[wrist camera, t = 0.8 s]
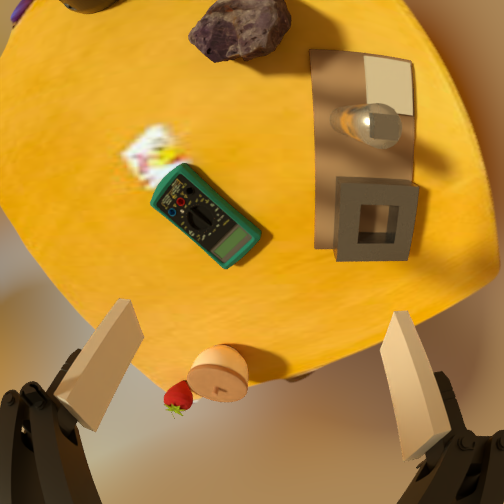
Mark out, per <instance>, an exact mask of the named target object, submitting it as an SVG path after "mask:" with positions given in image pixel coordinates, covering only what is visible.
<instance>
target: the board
mask: <svg viewBox="0 0 504 504" xmlns="http://www.w3.org/2000/svg"><path fill="white" fill-rule="evenodd" d="M309 54H310V65H311V78H312V93H313V111H314V135H315V242H314V248H315V249H333V237H334V219H335V191H336V176H343V177H372V178H390V179H405V180H410V181H411V182H412V172H413V156H414V89H413V74H412V63H411V61H410V60H405V59H400V58H395V57H389V56H383V55H376V54H368V53H360V52H350V51H337V50H317V49H309ZM364 56H372V57H379V58H386V59H392V60H398V61H403V62H408V63H410V67H411V80H412V99H413V115H405V114H398V113H397V114H398V115H399V117H400V119H401V122H402V134H401V137H400V139H399V141H398V142H397V143H396V144H395V145H394V146H392V147H390V148H387V149H378V148H375V147H372V146H370V145H368V144H365V143H363V142H360V141H358V140H355V139H353V138H350V137H348V136H345V135H343V134H340V133H338V132H336V131H335V130H334V129H333V128H332V127H331V125H330V120H329V119H330V114H331V113H332V111H333V110H334V109H336V108H338V107H344V106H353V105H362V104H367V96H366V78H365V66H364ZM388 214H389V205H361V208H360V221H359V232H386V230H387V223H388Z"/></svg>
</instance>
